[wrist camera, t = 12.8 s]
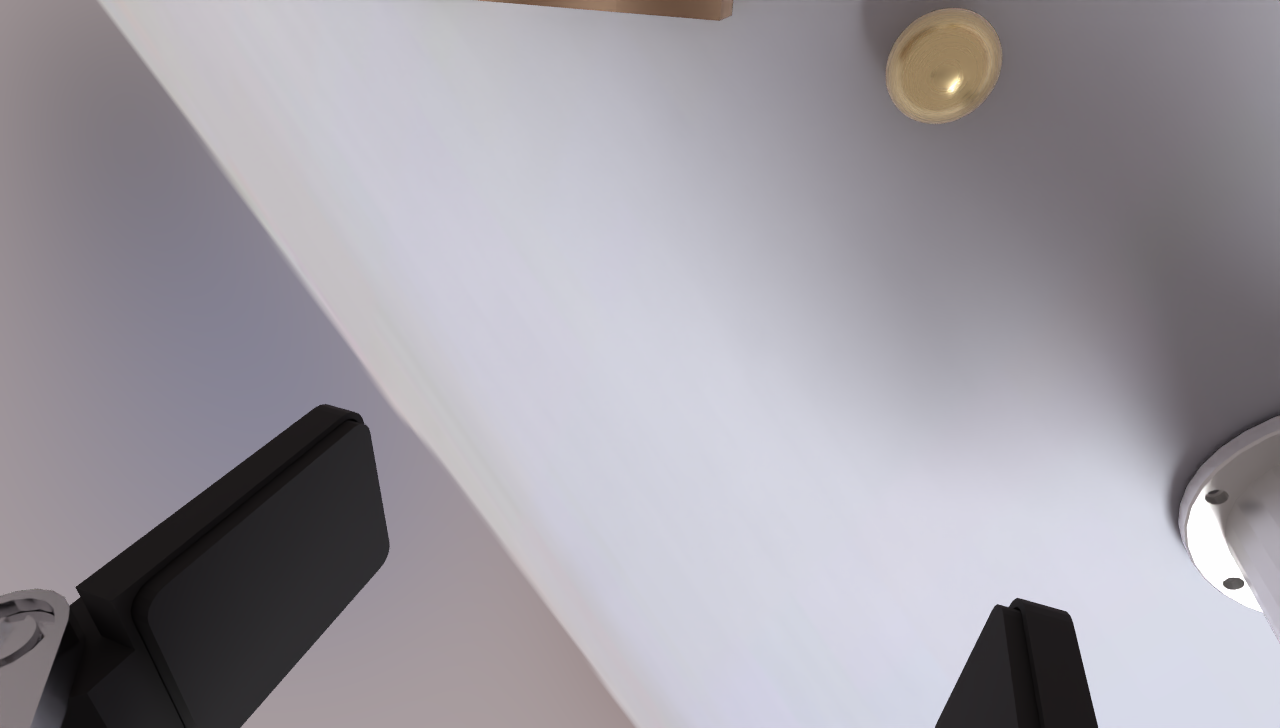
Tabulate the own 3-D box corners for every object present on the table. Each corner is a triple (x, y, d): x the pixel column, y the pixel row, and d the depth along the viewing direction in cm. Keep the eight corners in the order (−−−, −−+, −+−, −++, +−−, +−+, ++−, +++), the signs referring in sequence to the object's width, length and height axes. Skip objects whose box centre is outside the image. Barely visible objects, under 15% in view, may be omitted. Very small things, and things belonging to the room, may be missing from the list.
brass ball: (1009, 8, 26) (1026, 17, 23) (977, 118, 28) (988, 140, 25) (899, -1, 27) (900, 8, 24) (875, 107, 29) (874, 127, 26)
